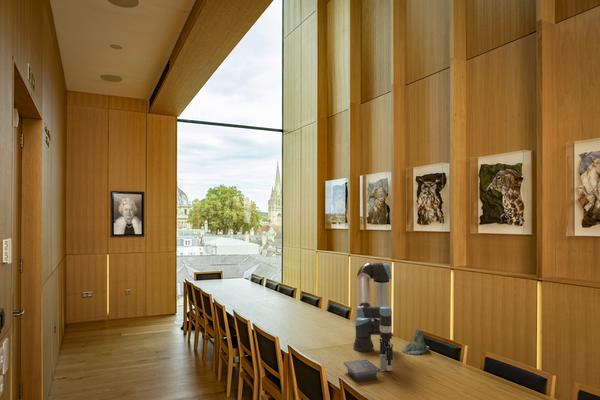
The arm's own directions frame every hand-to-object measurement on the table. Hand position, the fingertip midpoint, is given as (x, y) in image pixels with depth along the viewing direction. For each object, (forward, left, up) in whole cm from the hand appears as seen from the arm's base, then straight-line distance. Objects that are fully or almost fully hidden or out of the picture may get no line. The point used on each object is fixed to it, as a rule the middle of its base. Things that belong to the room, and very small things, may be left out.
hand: (386, 368), depth 266 cm
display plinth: (+2, -18, -2) cm, 18 cm away
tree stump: (-32, +40, -2) cm, 51 cm away
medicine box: (0, 0, -1) cm, 1 cm away
